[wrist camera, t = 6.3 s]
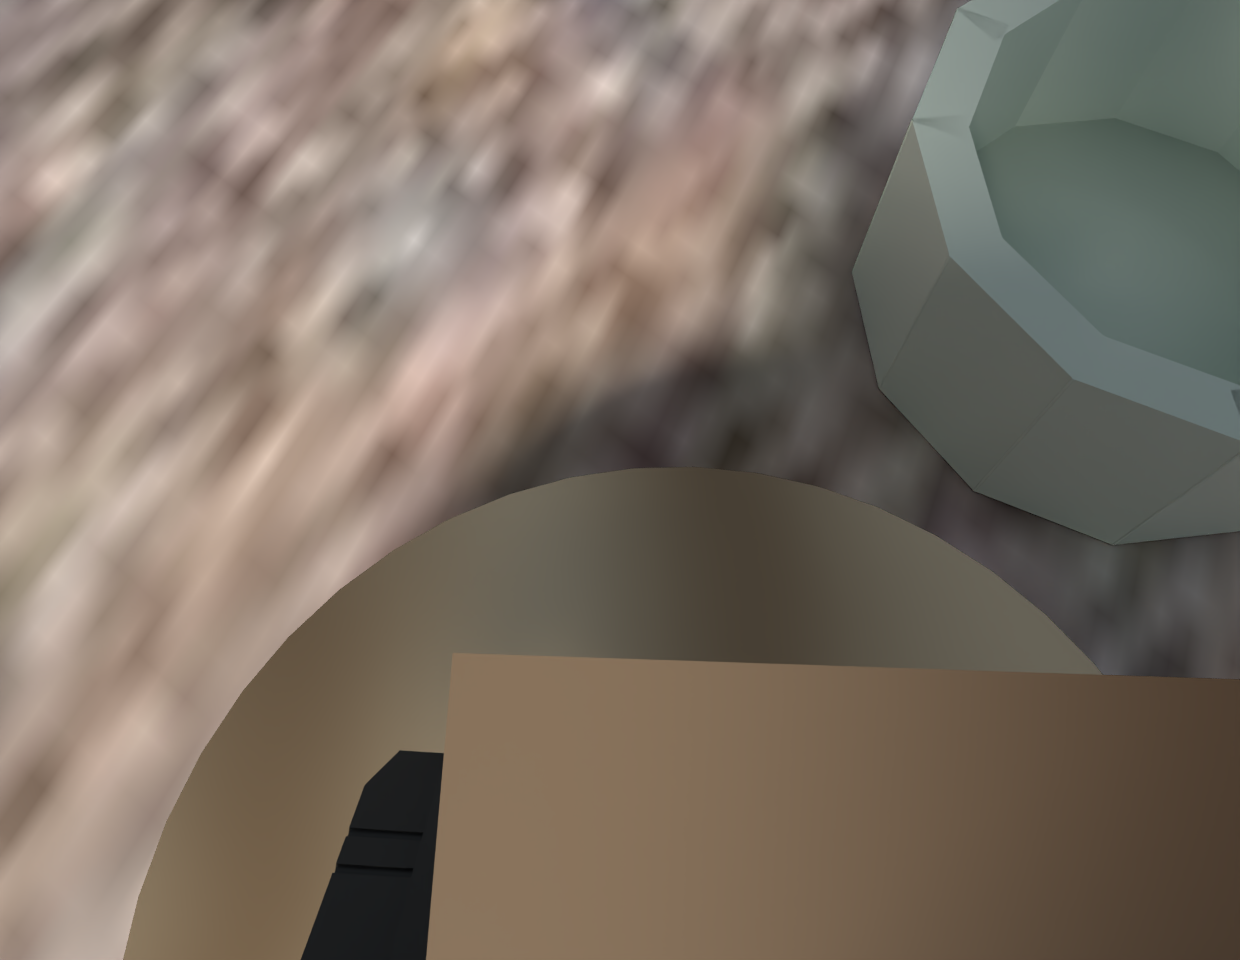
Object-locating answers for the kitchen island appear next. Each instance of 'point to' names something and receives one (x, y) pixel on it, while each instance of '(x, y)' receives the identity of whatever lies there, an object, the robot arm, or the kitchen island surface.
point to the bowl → (1072, 263)
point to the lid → (713, 749)
